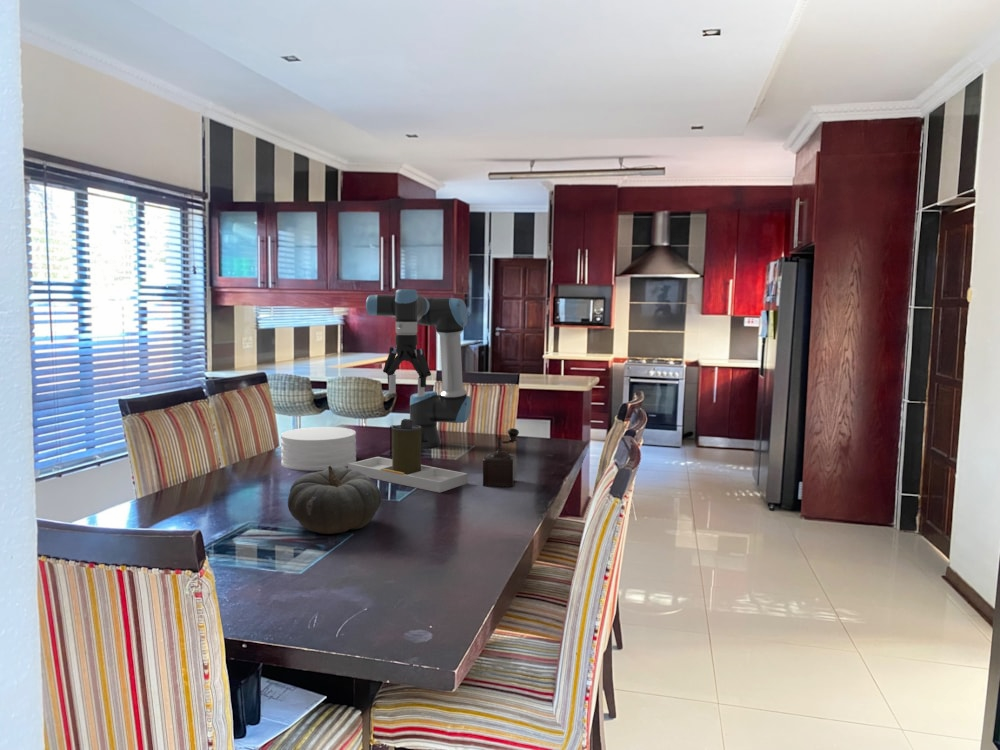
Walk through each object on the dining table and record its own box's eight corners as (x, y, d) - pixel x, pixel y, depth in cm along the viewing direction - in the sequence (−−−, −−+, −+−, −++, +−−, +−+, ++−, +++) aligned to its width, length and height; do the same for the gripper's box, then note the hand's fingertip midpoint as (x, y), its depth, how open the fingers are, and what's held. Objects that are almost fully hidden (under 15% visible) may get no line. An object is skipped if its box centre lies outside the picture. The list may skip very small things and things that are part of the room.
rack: (348, 473, 252) (348, 462, 252) (377, 465, 265) (377, 455, 264) (439, 492, 228) (439, 480, 228) (467, 483, 240) (467, 472, 240)
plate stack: (364, 455, 282) (364, 427, 281) (343, 472, 255) (342, 441, 254) (297, 453, 285) (297, 425, 284) (269, 469, 257) (268, 438, 256)
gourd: (345, 497, 211) (345, 444, 206) (400, 528, 196) (402, 471, 191) (271, 524, 193) (270, 467, 188) (326, 560, 178) (326, 499, 173)
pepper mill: (514, 487, 235) (515, 435, 234) (482, 486, 237) (482, 434, 235) (518, 476, 251) (519, 427, 249) (488, 475, 252) (489, 426, 250)
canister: (424, 472, 251) (424, 417, 249) (418, 479, 240) (418, 422, 238) (394, 471, 252) (394, 416, 250) (387, 478, 242) (386, 421, 239)
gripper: (372, 333, 245) (373, 392, 247) (426, 335, 231) (426, 399, 233) (387, 332, 251) (388, 390, 254) (441, 335, 237) (440, 396, 239)
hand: (406, 394), depth 243 cm, fingers open, 13 cm apart
